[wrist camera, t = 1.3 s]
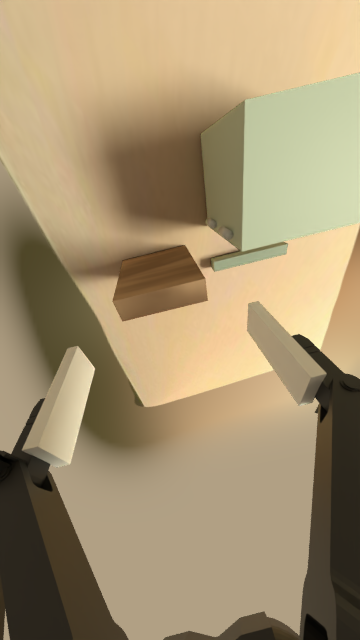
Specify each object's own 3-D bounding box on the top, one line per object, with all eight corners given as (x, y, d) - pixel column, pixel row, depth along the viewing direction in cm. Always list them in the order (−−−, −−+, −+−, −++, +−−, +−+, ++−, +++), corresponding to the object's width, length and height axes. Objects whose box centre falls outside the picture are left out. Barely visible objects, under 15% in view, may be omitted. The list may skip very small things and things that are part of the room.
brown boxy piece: (122, 260, 26) (112, 301, 18) (185, 245, 26) (205, 278, 18) (131, 282, 28) (126, 328, 20) (188, 268, 28) (208, 308, 20)
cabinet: (192, 135, 20) (231, 103, 11) (301, 109, 20) (425, 56, 11) (206, 269, 29) (233, 308, 20) (280, 250, 29) (338, 282, 20)
